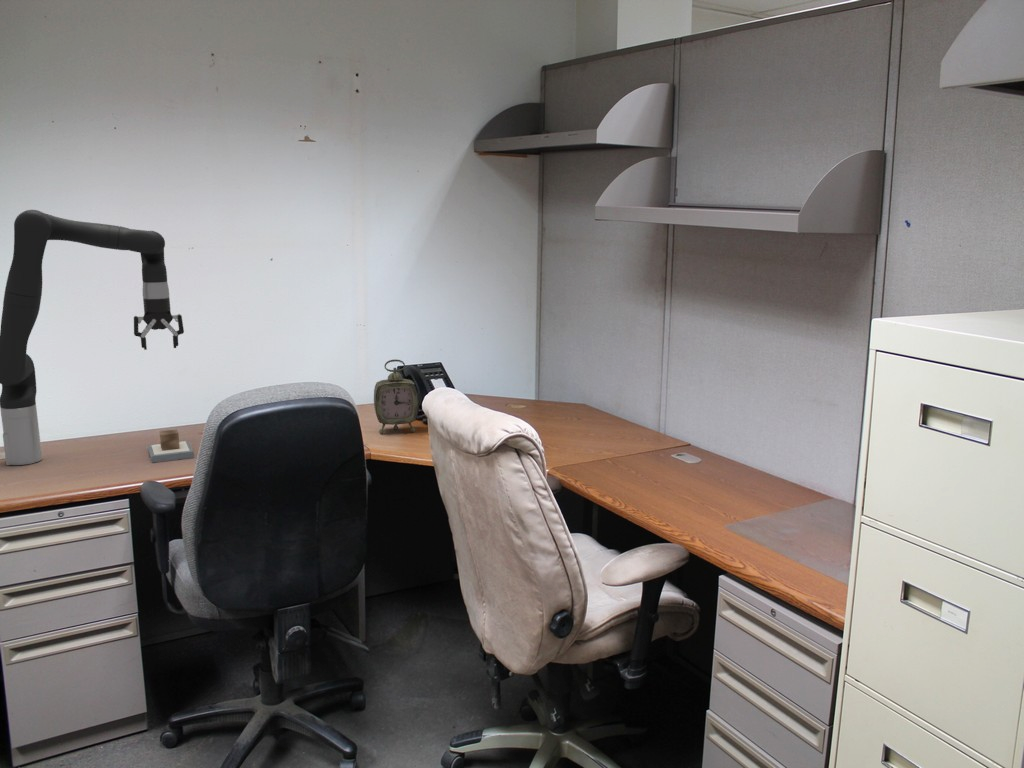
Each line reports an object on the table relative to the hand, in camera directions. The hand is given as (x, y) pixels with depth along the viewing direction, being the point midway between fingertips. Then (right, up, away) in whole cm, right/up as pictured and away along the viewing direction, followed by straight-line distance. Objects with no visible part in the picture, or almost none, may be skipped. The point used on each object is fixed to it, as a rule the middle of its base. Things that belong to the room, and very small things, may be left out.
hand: (160, 348), depth 262 cm
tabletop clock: (+70, -27, +27) cm, 80 cm away
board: (+4, -33, -2) cm, 33 cm away
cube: (+4, -31, -2) cm, 31 cm away
